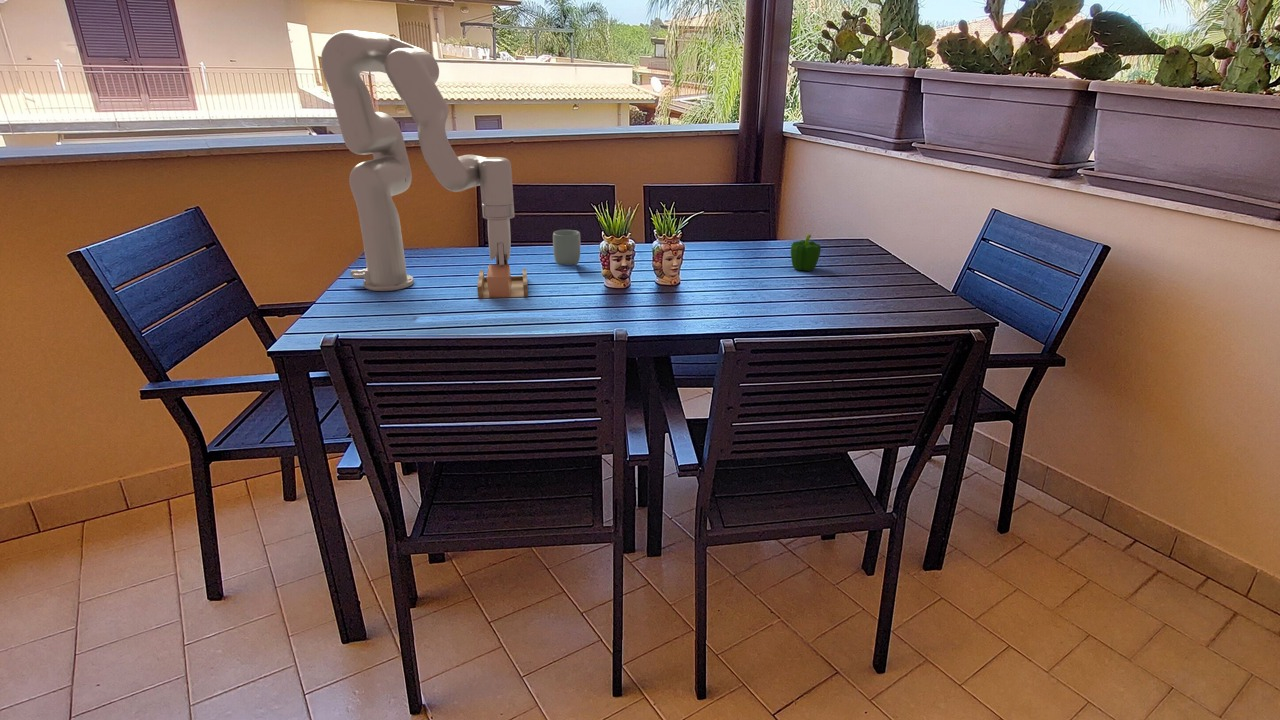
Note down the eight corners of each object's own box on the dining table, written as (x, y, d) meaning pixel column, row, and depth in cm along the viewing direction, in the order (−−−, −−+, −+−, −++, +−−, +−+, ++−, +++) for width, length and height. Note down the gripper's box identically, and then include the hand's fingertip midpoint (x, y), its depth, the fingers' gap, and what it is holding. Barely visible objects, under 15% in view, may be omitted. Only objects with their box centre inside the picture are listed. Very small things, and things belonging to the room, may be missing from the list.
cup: (576, 271, 188) (575, 236, 184) (550, 269, 189) (549, 234, 185) (583, 263, 195) (583, 230, 191) (558, 262, 196) (557, 228, 192)
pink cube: (489, 296, 161) (486, 276, 157) (491, 283, 164) (488, 264, 160) (509, 296, 161) (507, 277, 157) (511, 284, 165) (509, 264, 160)
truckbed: (481, 285, 173) (479, 269, 172) (527, 284, 175) (526, 268, 174) (478, 304, 160) (477, 286, 158) (528, 302, 162) (527, 285, 160)
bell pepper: (806, 274, 188) (811, 240, 184) (783, 268, 194) (787, 235, 190) (823, 269, 193) (828, 236, 189) (800, 263, 199) (804, 231, 195)
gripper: (483, 205, 164) (489, 275, 172) (481, 217, 151) (487, 293, 159) (513, 204, 166) (518, 274, 173) (514, 216, 152) (519, 292, 160)
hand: (503, 283), depth 166 cm, fingers closed
